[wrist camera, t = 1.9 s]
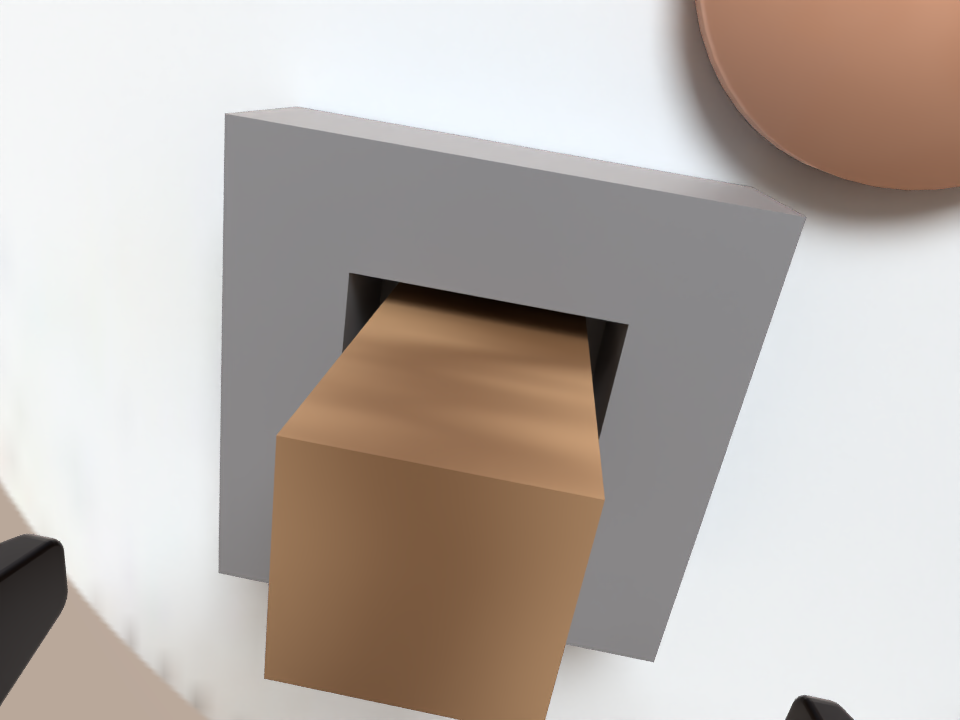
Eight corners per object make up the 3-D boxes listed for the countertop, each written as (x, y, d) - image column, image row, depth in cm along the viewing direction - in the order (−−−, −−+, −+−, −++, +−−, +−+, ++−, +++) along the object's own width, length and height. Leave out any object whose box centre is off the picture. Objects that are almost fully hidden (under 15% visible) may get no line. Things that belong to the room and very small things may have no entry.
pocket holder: (752, 187, 15) (806, 217, 11) (637, 561, 19) (653, 661, 15) (296, 106, 15) (225, 113, 12) (276, 489, 19) (218, 572, 16)
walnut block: (584, 300, 16) (605, 499, 8) (549, 453, 17) (539, 736, 10) (410, 268, 16) (276, 435, 8) (391, 422, 17) (264, 679, 10)
